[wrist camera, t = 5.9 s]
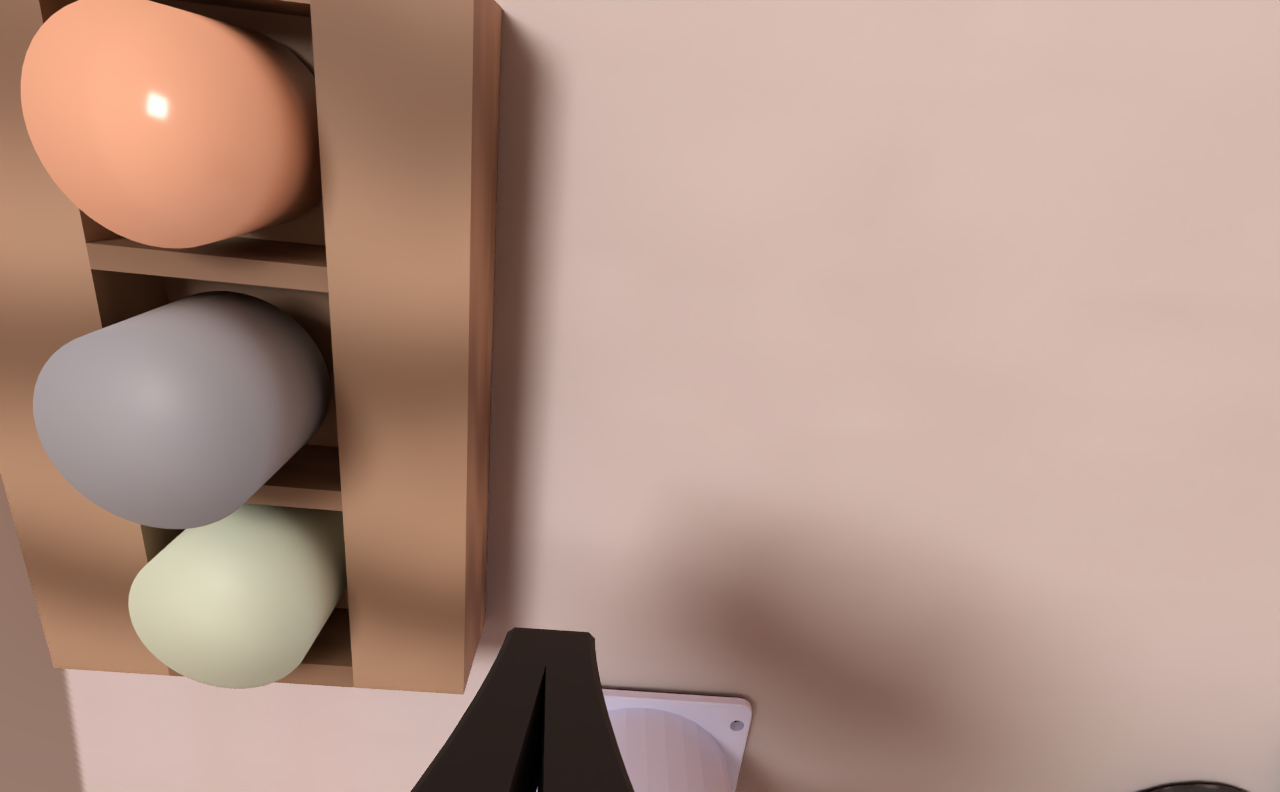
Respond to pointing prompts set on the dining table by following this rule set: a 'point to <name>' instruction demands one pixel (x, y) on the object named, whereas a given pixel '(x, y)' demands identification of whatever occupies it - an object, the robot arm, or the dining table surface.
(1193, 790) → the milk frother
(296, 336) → the key slate
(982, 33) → the dining table surface
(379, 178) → the brown wooden flat frame
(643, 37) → the dining table surface
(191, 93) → the peach rounded block
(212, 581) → the key sage
